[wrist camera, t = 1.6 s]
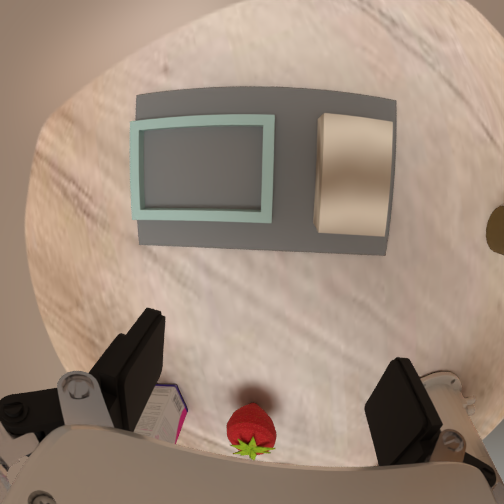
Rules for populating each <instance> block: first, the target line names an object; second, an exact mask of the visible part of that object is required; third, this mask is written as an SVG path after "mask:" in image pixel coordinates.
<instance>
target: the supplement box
mask: <svg viewBox="0 0 504 504" xmlns="http://www.w3.org/2000/svg"><path fill="white" fill-rule="evenodd" d="M187 412H188V409H187V407H186V405H185V403H184V400H183V398H182V396H181V394H180V392H179V389H178V387H177V385H176V384H156V385H155V387H154V389H153V391H152V394H151V396H150V398H149V400H148V402H147V404H146V406H145V408H144V410H143V413H142V415H141V417H140V419H139V421H138V423H137V425H136V428H135V430H134V433H137V434H141V435H145V436H148V437H152V438H156V439H159V440H162V441H166V442H170V443H173V444H176V442H177V439H178V436H179V434H180V431H181V428H182V425H183V422H184V420H185V417H186V414H187Z"/></svg>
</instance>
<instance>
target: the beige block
mask: <svg viewBox="0 0 504 504" xmlns="http://www.w3.org/2000/svg"><path fill="white" fill-rule="evenodd" d="M392 139H393V122H390V121H384V120H378V119H371V118H364V117H357V116H349V115H340V114H330V113H324V114H322V115H321V116H320V117H319V118H318V126H317V160H316V182H315V201H314V217H313V223H314V225H315V227H316V229H317V231H318V233H333V234H350V235H367V236H383V237H385V230H386V222H387V213H388V203H389V192H390V180H391V164H392Z"/></svg>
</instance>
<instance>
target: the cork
mask: <svg viewBox="0 0 504 504" xmlns="http://www.w3.org/2000/svg"><path fill="white" fill-rule="evenodd" d="M486 238H487V243H488V245H489V247H490V249H491V250H492V251H494V252H496V253H499V254H502V255H504V206H499V207H498V208H496V209H495V210H494V211H493V213H492V214H491V216H490V218H489V220H488V224H487V228H486Z"/></svg>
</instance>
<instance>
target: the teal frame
mask: <svg viewBox="0 0 504 504" xmlns="http://www.w3.org/2000/svg"><path fill="white" fill-rule="evenodd" d="M219 126H261V127H263V155H262V193H261V210H248V209H210V208H145V197H144V131H149V130H160V129H174V128H191V127H219ZM274 129H275V115H263V114H226V115H198V116H181V117H168V118H157V119H147V120H139V121H131V122H130V189H131V210H132V220H184V221H223V222H252V223H272V200H273V168H274Z"/></svg>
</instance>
